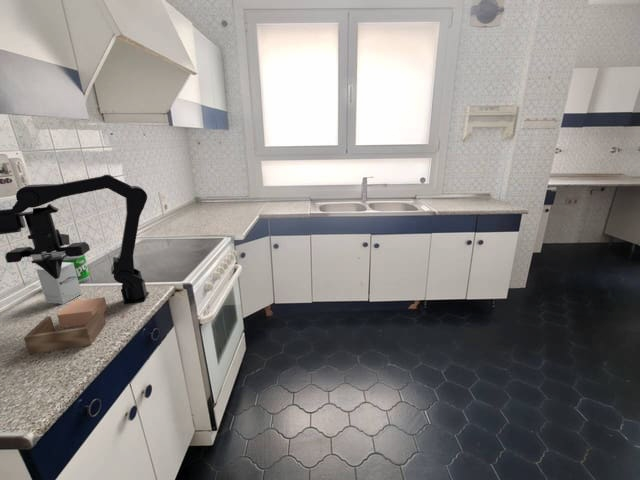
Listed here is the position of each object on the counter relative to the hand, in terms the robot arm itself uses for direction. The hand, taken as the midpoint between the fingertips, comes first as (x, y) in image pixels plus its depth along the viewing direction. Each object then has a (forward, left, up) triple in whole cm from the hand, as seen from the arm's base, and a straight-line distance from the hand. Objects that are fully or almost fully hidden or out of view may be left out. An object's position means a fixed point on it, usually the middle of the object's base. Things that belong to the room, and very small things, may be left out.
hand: (57, 278), depth 94 cm
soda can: (+9, -30, -13) cm, 34 cm away
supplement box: (+7, -14, -13) cm, 20 cm away
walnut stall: (-6, +14, -13) cm, 20 cm away
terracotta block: (-6, +3, -13) cm, 15 cm away
